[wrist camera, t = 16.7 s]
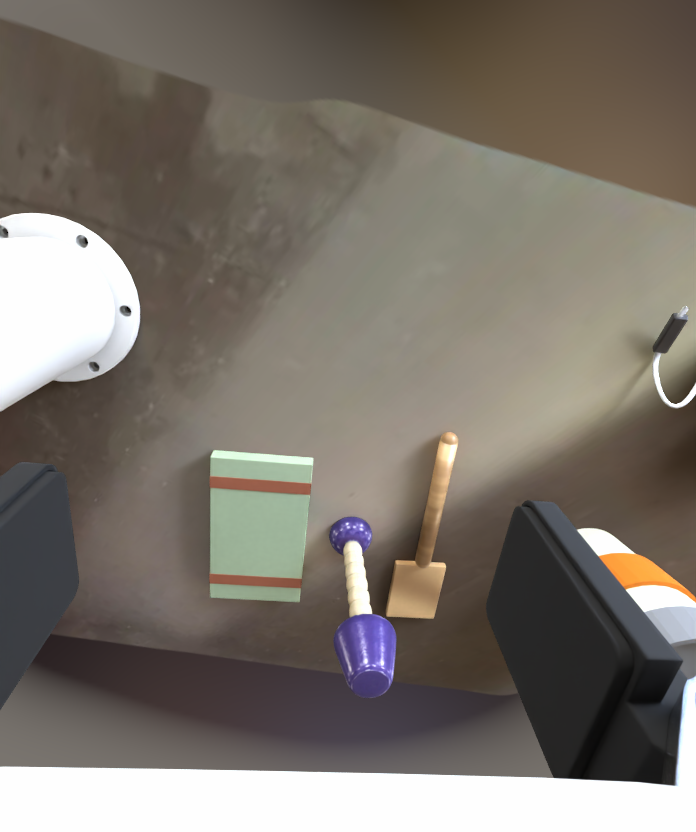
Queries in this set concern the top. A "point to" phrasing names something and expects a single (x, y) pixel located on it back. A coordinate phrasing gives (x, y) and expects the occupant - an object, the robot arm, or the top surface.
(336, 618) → the top surface
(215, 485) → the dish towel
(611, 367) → the top surface
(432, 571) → the wooden spatula
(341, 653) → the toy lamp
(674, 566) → the top surface
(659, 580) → the reusable coffee cup
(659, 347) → the clip-on lamp
